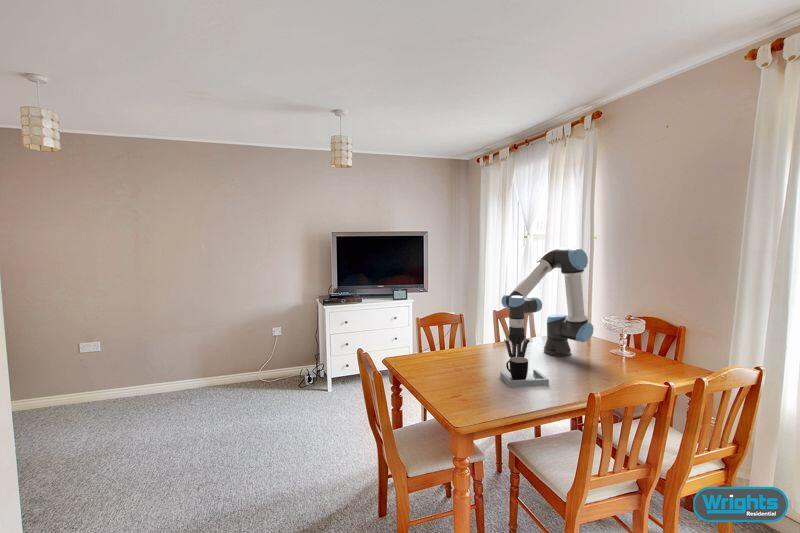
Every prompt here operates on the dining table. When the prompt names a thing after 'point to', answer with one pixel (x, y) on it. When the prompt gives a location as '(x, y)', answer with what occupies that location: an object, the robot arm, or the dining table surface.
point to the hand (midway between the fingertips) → (516, 370)
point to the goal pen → (539, 381)
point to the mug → (518, 368)
